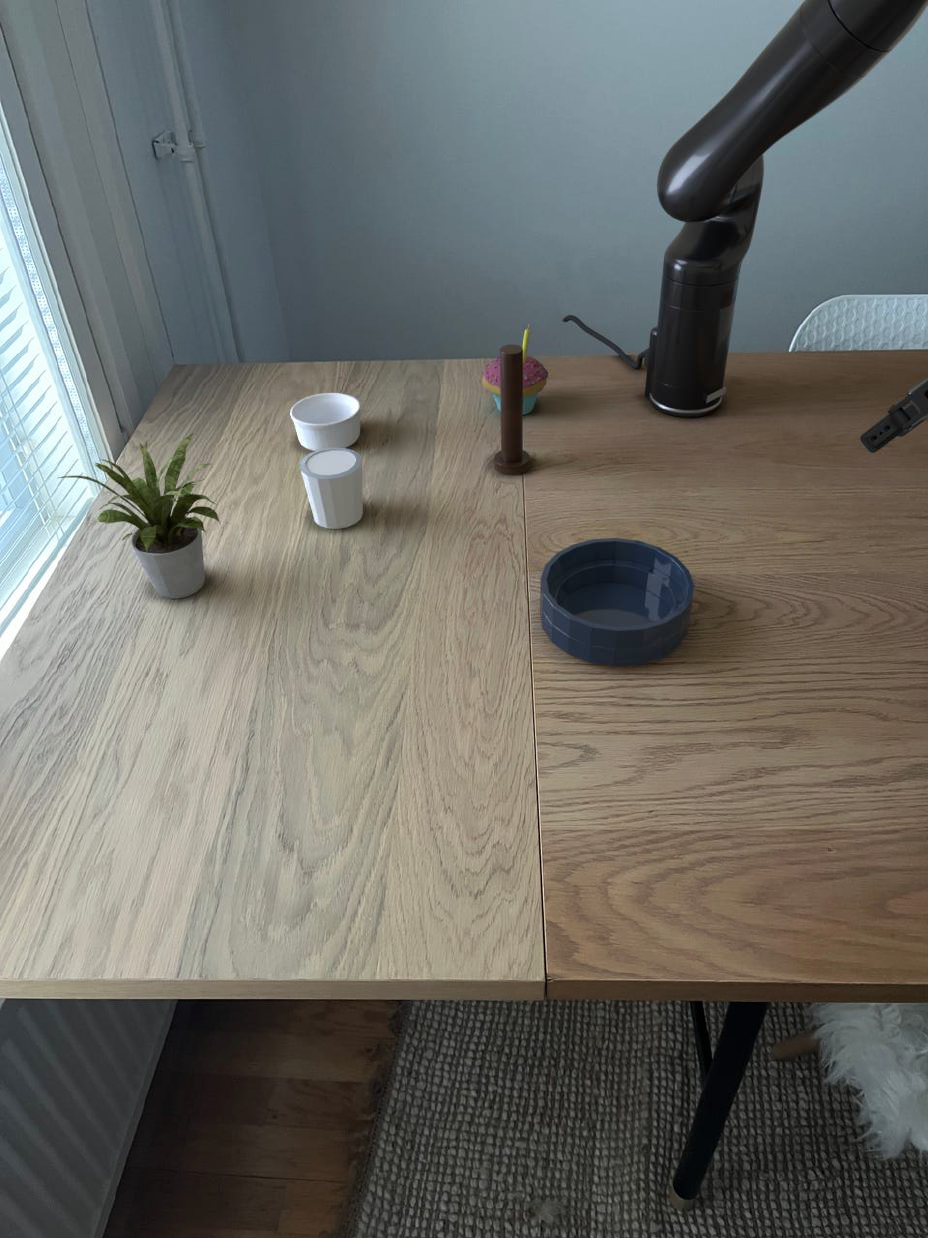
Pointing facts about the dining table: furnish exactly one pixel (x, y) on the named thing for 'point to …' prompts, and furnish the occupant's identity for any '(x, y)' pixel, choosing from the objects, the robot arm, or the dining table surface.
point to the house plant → (162, 523)
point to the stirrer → (511, 413)
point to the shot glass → (334, 486)
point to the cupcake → (531, 378)
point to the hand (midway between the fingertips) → (880, 437)
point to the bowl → (616, 601)
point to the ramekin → (327, 421)
